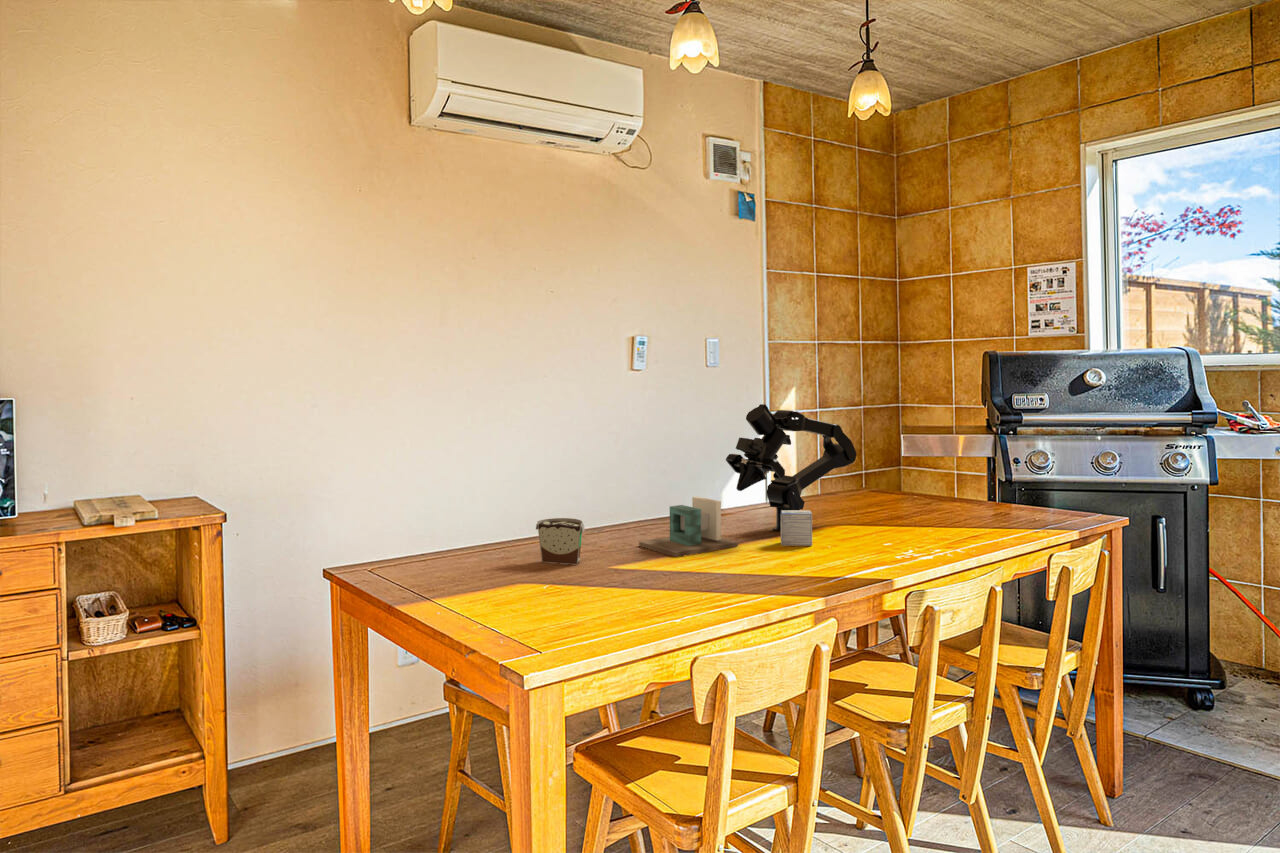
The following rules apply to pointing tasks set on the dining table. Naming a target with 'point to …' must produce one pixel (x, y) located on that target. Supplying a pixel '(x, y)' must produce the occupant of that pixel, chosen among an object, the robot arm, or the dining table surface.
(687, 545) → the board
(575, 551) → the food container
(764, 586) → the dining table surface
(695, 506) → the cream upright panel
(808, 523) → the medicine box
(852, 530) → the dining table surface
